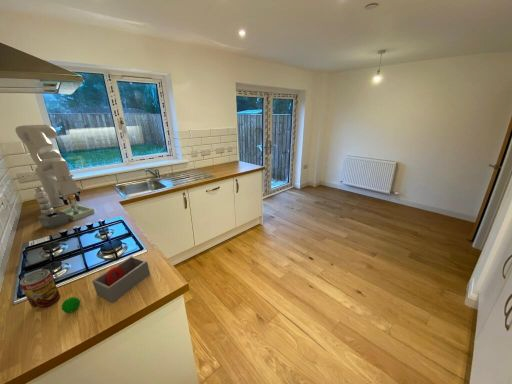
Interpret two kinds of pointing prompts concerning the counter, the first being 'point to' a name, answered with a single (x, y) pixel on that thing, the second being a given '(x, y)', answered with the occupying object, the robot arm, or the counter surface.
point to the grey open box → (122, 279)
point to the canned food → (40, 289)
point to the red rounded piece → (109, 274)
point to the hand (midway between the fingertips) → (72, 202)
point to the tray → (83, 212)
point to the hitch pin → (73, 204)
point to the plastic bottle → (43, 201)
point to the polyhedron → (70, 304)
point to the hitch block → (53, 219)
